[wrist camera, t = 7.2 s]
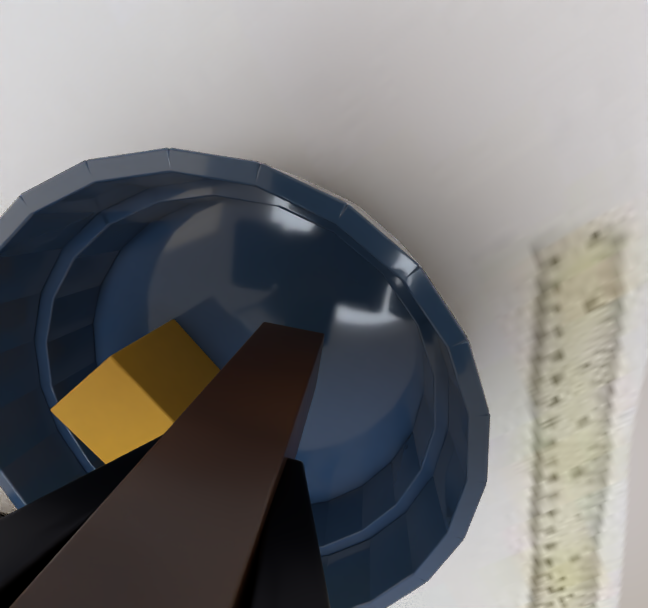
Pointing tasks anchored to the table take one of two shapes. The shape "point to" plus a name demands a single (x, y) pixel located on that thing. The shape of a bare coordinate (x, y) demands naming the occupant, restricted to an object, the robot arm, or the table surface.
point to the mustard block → (137, 392)
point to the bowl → (236, 328)
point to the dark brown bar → (195, 492)
